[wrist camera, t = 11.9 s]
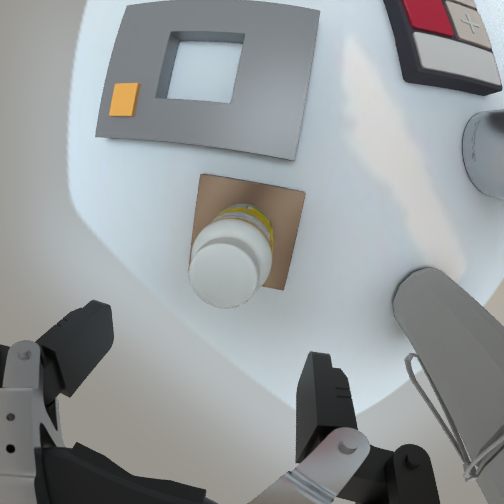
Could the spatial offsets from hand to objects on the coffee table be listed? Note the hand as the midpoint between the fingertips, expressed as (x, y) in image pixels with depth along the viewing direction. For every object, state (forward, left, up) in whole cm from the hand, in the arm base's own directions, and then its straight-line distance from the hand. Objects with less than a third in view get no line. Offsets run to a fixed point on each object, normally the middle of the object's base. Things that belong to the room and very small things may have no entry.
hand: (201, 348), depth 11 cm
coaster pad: (0, 0, -17) cm, 17 cm away
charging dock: (+6, -14, -17) cm, 23 cm away
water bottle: (-19, +4, -17) cm, 26 cm away
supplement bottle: (0, 0, -16) cm, 16 cm away
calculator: (-15, -26, -18) cm, 35 cm away
